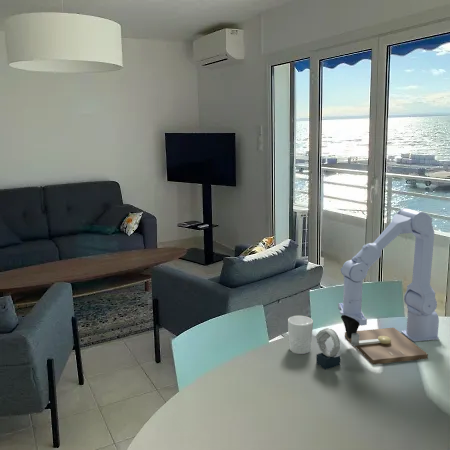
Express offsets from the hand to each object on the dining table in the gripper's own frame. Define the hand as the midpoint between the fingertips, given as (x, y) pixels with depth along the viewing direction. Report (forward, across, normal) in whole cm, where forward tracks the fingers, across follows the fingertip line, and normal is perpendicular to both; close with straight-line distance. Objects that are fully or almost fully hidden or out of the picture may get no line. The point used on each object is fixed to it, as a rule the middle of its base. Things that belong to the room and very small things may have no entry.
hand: (350, 337), depth 153 cm
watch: (+3, +9, -13) cm, 16 cm away
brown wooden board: (+3, +4, +10) cm, 11 cm away
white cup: (+3, -2, -17) cm, 17 cm away
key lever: (+1, +4, +5) cm, 6 cm away
